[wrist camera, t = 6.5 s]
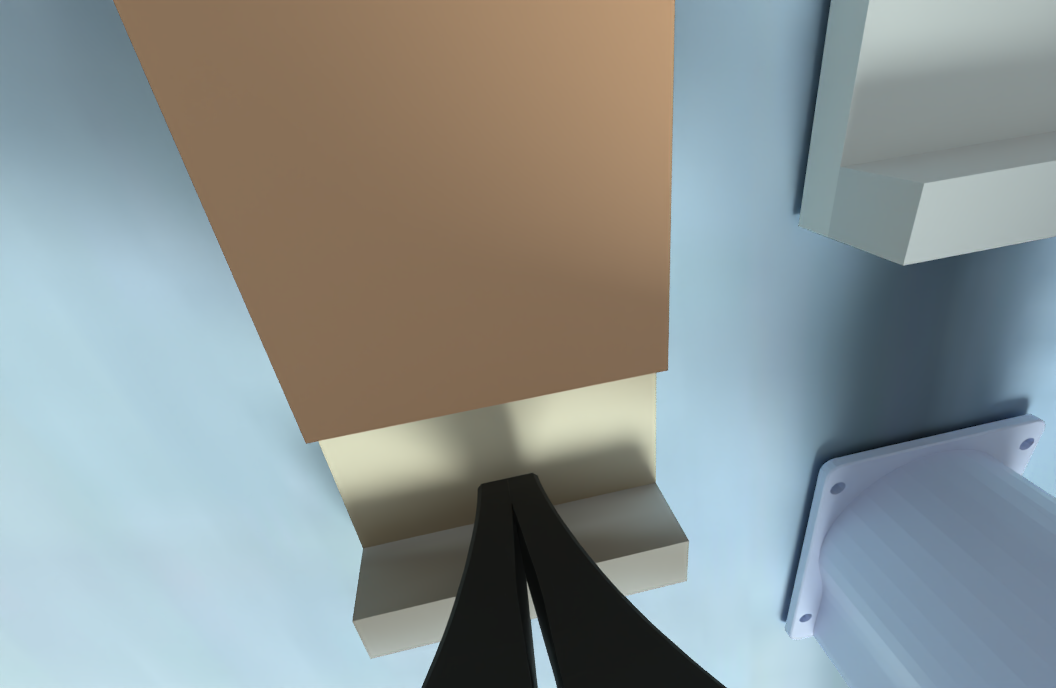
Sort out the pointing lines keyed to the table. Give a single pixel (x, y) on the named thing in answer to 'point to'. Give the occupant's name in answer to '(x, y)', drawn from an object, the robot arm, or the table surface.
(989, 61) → the grey strip
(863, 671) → the robot arm
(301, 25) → the block
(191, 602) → the table surface
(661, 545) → the beige lipped tray
